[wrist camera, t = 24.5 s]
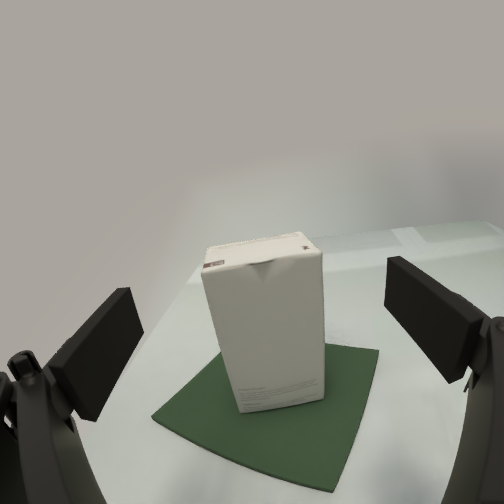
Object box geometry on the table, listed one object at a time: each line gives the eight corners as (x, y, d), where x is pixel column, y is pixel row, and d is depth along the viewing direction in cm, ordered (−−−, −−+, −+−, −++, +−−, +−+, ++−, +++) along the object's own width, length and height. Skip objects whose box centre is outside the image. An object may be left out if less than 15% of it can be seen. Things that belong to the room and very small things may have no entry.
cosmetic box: (310, 364, 28) (305, 228, 23) (325, 403, 22) (328, 248, 17) (233, 376, 27) (207, 242, 23) (234, 417, 22) (198, 265, 17)
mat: (152, 419, 22) (150, 416, 22) (244, 332, 37) (244, 328, 37) (332, 493, 13) (333, 490, 13) (378, 353, 28) (379, 349, 27)
